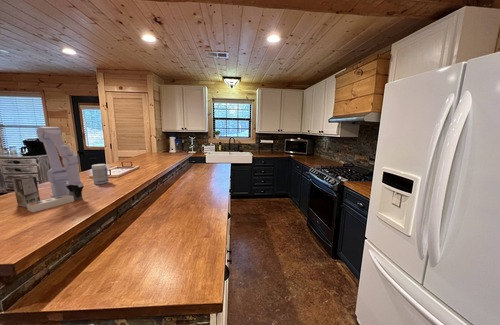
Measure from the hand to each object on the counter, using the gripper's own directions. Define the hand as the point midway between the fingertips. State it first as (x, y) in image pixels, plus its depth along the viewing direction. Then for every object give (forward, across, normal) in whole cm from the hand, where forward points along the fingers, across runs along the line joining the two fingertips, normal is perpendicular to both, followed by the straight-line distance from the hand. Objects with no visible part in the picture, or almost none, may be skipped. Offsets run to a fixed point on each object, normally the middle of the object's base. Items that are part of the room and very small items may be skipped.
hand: (76, 196), depth 125 cm
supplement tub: (+2, -25, +28) cm, 38 cm away
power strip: (+2, 0, -12) cm, 12 cm away
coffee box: (+2, -13, -17) cm, 22 cm away
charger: (+1, 0, -1) cm, 2 cm away
